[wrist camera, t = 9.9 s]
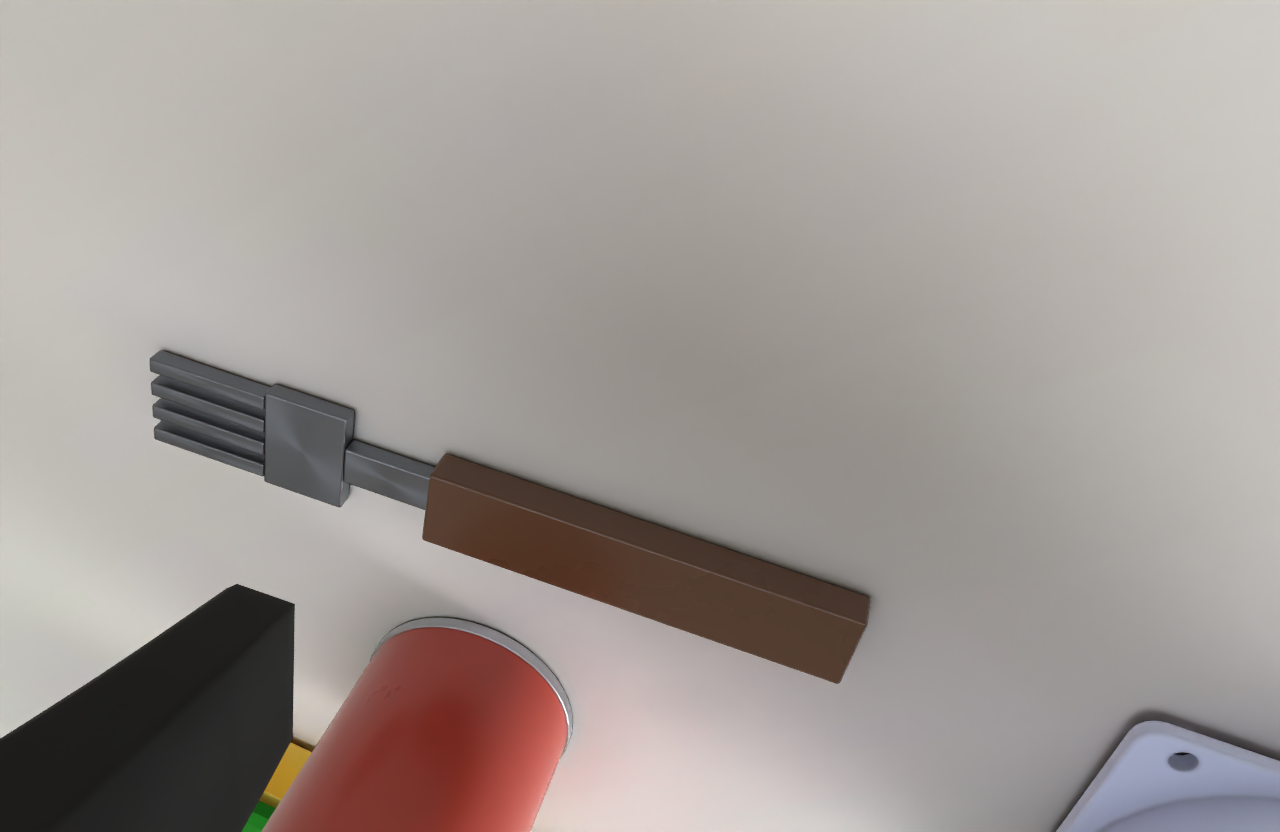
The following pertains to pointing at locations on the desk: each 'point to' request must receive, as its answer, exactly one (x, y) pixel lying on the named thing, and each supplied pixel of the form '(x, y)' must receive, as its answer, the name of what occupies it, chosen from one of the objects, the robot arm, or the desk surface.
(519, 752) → the tin can
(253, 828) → the dish sponge
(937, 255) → the desk surface
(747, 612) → the fork
